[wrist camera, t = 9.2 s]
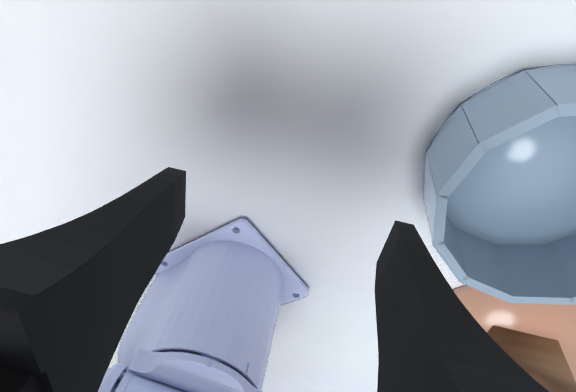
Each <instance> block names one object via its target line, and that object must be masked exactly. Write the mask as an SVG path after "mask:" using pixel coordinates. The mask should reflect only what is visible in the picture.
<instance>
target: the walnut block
mask: <svg viewBox="0 0 576 392" xmlns="http://www.w3.org/2000/svg"><path fill="white" fill-rule="evenodd" d="M487 333H488V334H489V336H490V337H491V338H492V339H493V340H494V341H495V342H496V343H497V344H498V345H499V346H500V347H501V348H502V349H503V350H504V351H505V352H506V353H507V354H508V355H509V356H510V357H511V358H512V359H513V360H514V361H515V362H516V363H517V364H518V365H519V366H520V367H521V368H523V369H524V370H525V371H526V372H527V373H528V374H529V375H530V376H531V377H532V378H534V379H535V380H536V381H537V382H538V383H539V384H541V385H542V386H543V387H544V388H545V389H547V390H548V391H549V392H576V382H575V379H574V377H573V375H572V372H571V370H570V367H569V365H568V363H567V360H566V358H565V356H564V353H563V351H562V349H561V346H560V344H559V342H558V340H554V339H549V338H545V337H541V336H537V335H533V334H528V333H524V332H520V331H516V330H512V329H507V328H503V327H499V326H495V325H493V326H492V327H491V328H490V329H489V331H488V332H487Z"/></svg>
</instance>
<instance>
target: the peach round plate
mask: <svg viewBox="0 0 576 392" xmlns="http://www.w3.org/2000/svg"><path fill="white" fill-rule="evenodd" d="M453 291H454V292H455V294H456V295H457V297H458V298H459V299H460V301H461V302H462V303H463V305H464V306H465V307H466V309H467V310H468V311H469V312H470V313H471V315H472V316H473V317H474V318H475V320H476V321H477V322H478V323H479V324H480V326H481V327H482V328H483V329H484V330H485V331H486V332H488V331H489V329H490V328H491V327H492V326H493V325H495V326H499V327H503V328H507V329H512V330H516V331H520V332H524V333H528V334H533V335H537V336H541V337H545V338H549V339H554V340H558V342H559V344H560V346H561V349H562V351H563V353H564V356H565V358H566V360H567V363H568V365H569V367H570V370H571V372H572V375H573V377H574V379H575V382H576V304H573V305H562V304H530V303H509V302H506V301H503V300H501V299H498V298H496V297H494V296H491V295H489V294H487V293H484V292H482V291H480V290H477V289H475V288H473V287H470V286H468V285H465V286H462V287H459V288H456V289H454V290H453Z"/></svg>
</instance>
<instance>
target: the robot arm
mask: <svg viewBox="0 0 576 392" xmlns="http://www.w3.org/2000/svg"><path fill="white" fill-rule="evenodd" d="M185 192H186V171H183V170H179V169H174V168H170V167H168V168H166V169H165V170H163V171H161V172H160V173H158V174H156V175H155V176H153V177H152V178H150V179H148V180H147V181H145V182H144V183H142V184H141V185H139V186H137V187H136V188H134V189H132V190H131V191H129V192H127V193H126V194H124V195H122V196H121V197H119V198H117V199H115V200H113V201H111V202H109V203H108V204H106V205H104V206H102V207H100V208H98V209H96V210H94V211H92V212H90V213H88V214H86V215H84V216H81V217H79V218H77V219H74V220H72V221H70V222H67V223H65V224H62V225H60V226H57V227H54V228H51V229H48V230H45V231H43V232H40V233H37V234H34V235H31V236H28V237H25V238H21V239H18V240H14V241H11V242H7V243H3V244H0V392H262V391H261V390H262V385H263V381H264V376H265V371H266V367H267V362H268V358H269V353H270V348H271V344H272V339H273V334H274V330H275V325H276V321H277V316H278V311H279V307H280V305H283V304H286V303H289V302H292V301H295V300H298V299H301V298H304V297H307V296H308V293H309V289H308V288H307V286H306V285H305V284H304V283H303V282H302V281H301V280H300V279H299V277H298V276H297V275H296V274H295V273H294V272H293V271H292V270H291V268H290V267H289V266H288V265H287V264H286V263H285V262H284V261H283V259H282V258H281V257H280V256H279V255H278V254H277V253H276V252H275V250H274V249H273V248H272V247H271V246H270V245H269V244H268V243H267V241H266V240H265V239H264V238H263V237H262V236H261V235H260V234H259V232H258V231H257V230H256V229H255V228H254V227H253V226H252V225H251V223H250V222H249V221H247V220H246V219H238V220H236V221H234V222H232V223H229V224H227V225H225V226H223V227H221V228H219V229H217V230H215V231H213V232H211V233H209V234H207V235H205V236H202V237H200V238H198V239H196V240H194V241H192V242H190V243H188V244H186V245H184V246H182V247H180V248H177V249H175V250H173V251H171V252H169V253H168V251H169V249H170V248H171V246H172V244H173V243H174V241H175V239H176V237H177V234H178V232H179V230H180V228H181V225H182V223H183V220H184V218H185ZM235 227H236V228H238V229H239V230H238V229H235ZM155 273H156V274H157V276H156V278H155V280H154V281H153V283H152V285H151V287H150V288H149V290H148V292H147V294H146V296H145V297H144V299H143V301H142V303H141V305H140V306H139V308H138V310H137V312H136V313H135V315H134V317H133V319H132V321H131V322H130V324H129V326H128V328H127V330H126V331H125V333H124V335H123V337H122V334H123V332H124V330H125V328H126V326H127V324H128V321H129V319H130V317H131V315H132V313H133V311H134V309H135V307H136V305H137V303H138V301H139V299H140V297H141V295H142V294H143V292H144V290H145V289H146V287H147V285H148V284H149V282H150V280H151V279H152V277H153V276H154V274H155ZM296 293H298V294H296ZM375 302H376V318H377V334H378V351H379V367H378V390H377V392H549V391H548V390H547V389H545V388H544V387H543V386H542V385H541V384H539V383H538V382H537V381H536V380H535V379H534V378H532V377H531V376H530V375H529V374H528V373H527V372H526V371H525V370H524V369H523V368H521V367H520V366H519V365H518V364H517V363H516V362H515V361H514V360H513V359H512V358H511V357H510V356H509V355H508V354H507V353H506V352H505V351H504V350H503V349H502V348H501V347H500V346H499V345H498V344H497V343H496V342H495V341H494V340H493V339H492V338H491V337H490V336H489V334H488V333H487V332H486V331H485V330H484V329H483V328H482V327H481V326H480V324H479V323H478V322H477V321H476V320H475V318H474V317H473V316H472V315H471V313H470V312H469V311H468V310H467V309H466V307H465V306H464V305H463V303H462V302H461V301H460V299H459V298H458V297H457V295H456V294H455V292H454V291H453V290H452V288H451V287H450V285H449V284H448V282H447V281H446V279H445V278H444V276H443V275H442V273H441V272H440V270H439V268H438V267H437V265H436V263H435V262H434V260H433V258H432V257H431V255H430V253H429V251H428V250H427V248H426V246H425V244H424V243H423V241H422V239H421V237H420V235H419V234H418V232H417V230H416V228H415V227H414V225H412V224H408V223H404V222H399V221H395V223H394V225H393V227H392V229H391V232H390V234H389V236H388V238H387V241H386V243H385V245H384V247H383V250H382V252H381V254H380V256H379V259H378V261H377V266H376V279H375ZM121 337H122V340H121V342H120V346H119V350H118V363H116V364H115V365H113V366H112V367H110V368H108V366H109V364H110V361H111V359H112V357H113V354H114V352H115V350H116V348H117V346H118V343H119V341H120V339H121Z"/></svg>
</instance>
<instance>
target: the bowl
mask: <svg viewBox="0 0 576 392" xmlns="http://www.w3.org/2000/svg"><path fill="white" fill-rule="evenodd" d="M424 202H425V207H426V212H427V218H428V223H429V228H430V234H431V239H432V244H433V246H434V248H435V249H436V250H437V252H438V253H439V254H440V256H441V257H442V259H443V260H444V261H445V263H446V264H447V265H448V267H449V268H450V270H451V271H452V272H453V274H454V275H455V276H456V278H457V279H458V281H459V282H461V283H463V284H465V285H468V286H470V287H473V288H475V289H477V290H480V291H482V292H484V293H487V294H489V295H491V296H494V297H496V298H498V299H501V300H503V301H506V302H509V303H530V304H562V305H573V304H576V64H560V65H551V66H544V67H538V68H534V69H530V70H525V71H524V70H523V71H521V72H519V73H517V74H514V75H511V76H508V77H505V78H503V79H501V80H499V81H497V82H495V83H493V84H491V85H489V86H487V87H486V88H484V89H483V90H481V91H479V92H478V93H476V94H475V95H473V96H472V97H471V98H469V99H468V100H467V101H465V102H464V103H463V104H461V105H460V106H459V108H458V109H456V110H455V111H454V112H453V113H452V114H451V115H450V117H449V118H448V119H447V120H446V121H445V123H444V124H443V125H442V126H441V128H440V130H439V131H438V133H437V134H436V136H435V137H434V140H433V142H432V144H431V146H430V148H429V149H428V151H427V153H426V161H425V169H424Z"/></svg>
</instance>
